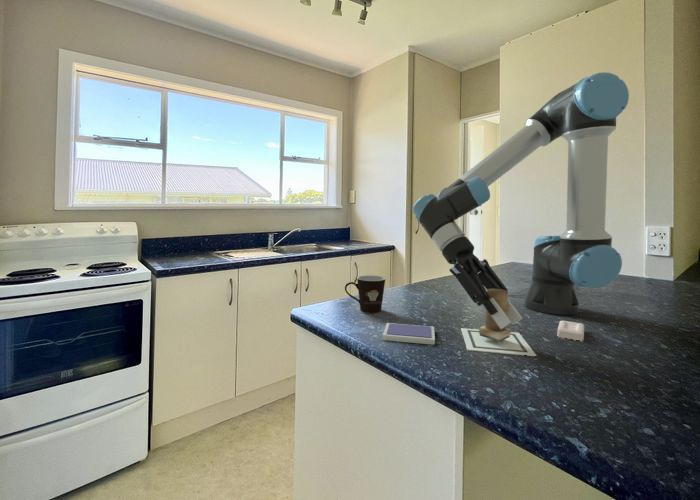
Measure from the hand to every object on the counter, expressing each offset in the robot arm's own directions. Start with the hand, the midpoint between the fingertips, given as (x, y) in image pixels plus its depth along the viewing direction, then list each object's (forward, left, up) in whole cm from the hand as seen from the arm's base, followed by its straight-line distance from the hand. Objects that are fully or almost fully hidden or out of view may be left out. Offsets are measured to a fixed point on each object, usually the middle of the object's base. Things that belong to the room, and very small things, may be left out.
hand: (511, 323), depth 77 cm
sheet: (+3, -2, -5) cm, 7 cm away
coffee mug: (+37, -20, -6) cm, 42 cm away
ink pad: (+23, -1, -5) cm, 24 cm away
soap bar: (-17, -12, -6) cm, 22 cm away
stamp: (+3, -2, -4) cm, 6 cm away
